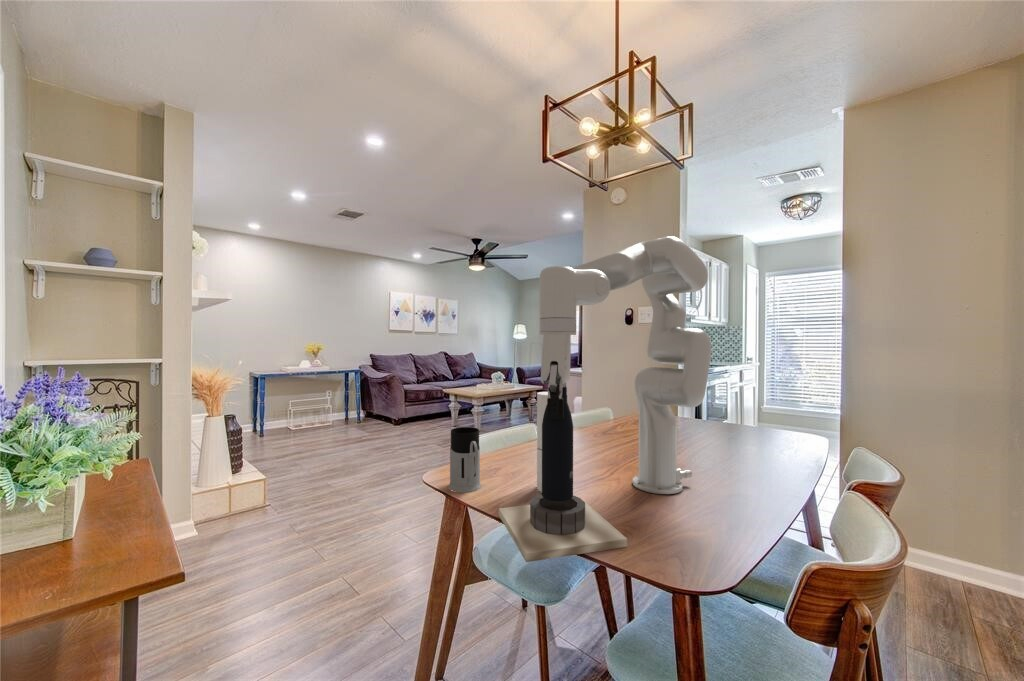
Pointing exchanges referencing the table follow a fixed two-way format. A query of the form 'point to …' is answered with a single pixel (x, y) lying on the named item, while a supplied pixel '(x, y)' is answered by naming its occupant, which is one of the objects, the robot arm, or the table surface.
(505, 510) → the bottle stand
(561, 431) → the wine bottle
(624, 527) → the table surface
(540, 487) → the cylindrical container
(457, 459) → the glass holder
